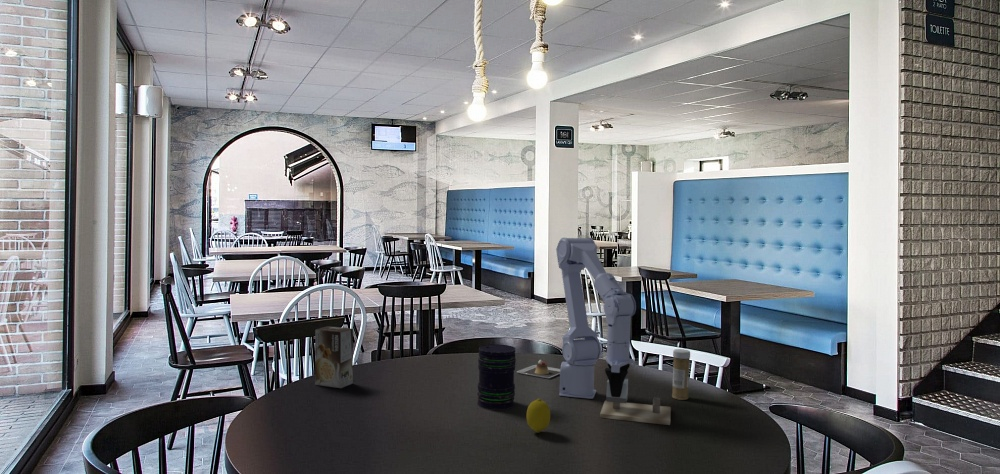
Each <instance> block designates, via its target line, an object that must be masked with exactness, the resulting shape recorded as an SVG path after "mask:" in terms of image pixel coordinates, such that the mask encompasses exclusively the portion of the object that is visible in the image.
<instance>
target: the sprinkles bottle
mask: <svg viewBox="0 0 1000 474" xmlns="http://www.w3.org/2000/svg"><path fill="white" fill-rule="evenodd" d="M672 352H673V353H672V356H673V363H672V364H673V368H672V394H671V398H673V399H674V400H679V401H685V400H688V399H689V398H690V397H689V386H690V359H691V350H688V349H685V348H684V349H682V348H677V349H673V351H672Z"/></svg>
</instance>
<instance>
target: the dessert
mask: <svg viewBox="0 0 1000 474" xmlns="http://www.w3.org/2000/svg"><path fill="white" fill-rule="evenodd" d="M533 369H535V370H534V374H532V373H526V372H528V371H531V370H533ZM549 371H554V372H558V373H556V374H554V375H551V376H549V377H548V376H543V375H548V374H550V373H549ZM516 373H517V374H520V375H526V376H531V377H537V378H542V379H547V380H549V379H552V378H554V377H556V376H558V375H559V376H560V368H556V367H550V366H548V364H547V363H546V361H543V359H539V360H538V362H537V364H534V365H530V366H527V367H523V368H522V369H519V370H517V371H516Z"/></svg>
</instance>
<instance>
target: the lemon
mask: <svg viewBox="0 0 1000 474" xmlns="http://www.w3.org/2000/svg"><path fill="white" fill-rule="evenodd" d="M550 422H551V409H550V407H549V404H547V402H546V401H544V400H542V399H541V398H537V399H535V400H533V401H531V402H530V404H529V405H528V407H527V410H526V423H527V425H528V427H529V428H530V429H532V430H534V432H536V433H537V434H539V433H541V431H544V430H545V429H546V428H548V427H549V425H550Z"/></svg>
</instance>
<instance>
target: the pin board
mask: <svg viewBox="0 0 1000 474" xmlns="http://www.w3.org/2000/svg"><path fill="white" fill-rule="evenodd" d="M671 409H672V407H671V406H664V405H661V398H660V397H653V398H652V404H647V403H646V404H645V403H635V402H626V403H617V402H607V401H606V399H605V400H604V402H603V405H602V407H601V411H600V412H599V413H600V414H599V418H601V419H608V420H619V421H627V422H628V421H629V422H637V423H648V424H655V425H656V424H657V425H666V426H667V425H668V426H670V425H671V417H672V416H671V414H672V413H671V411H672V410H671Z"/></svg>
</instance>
